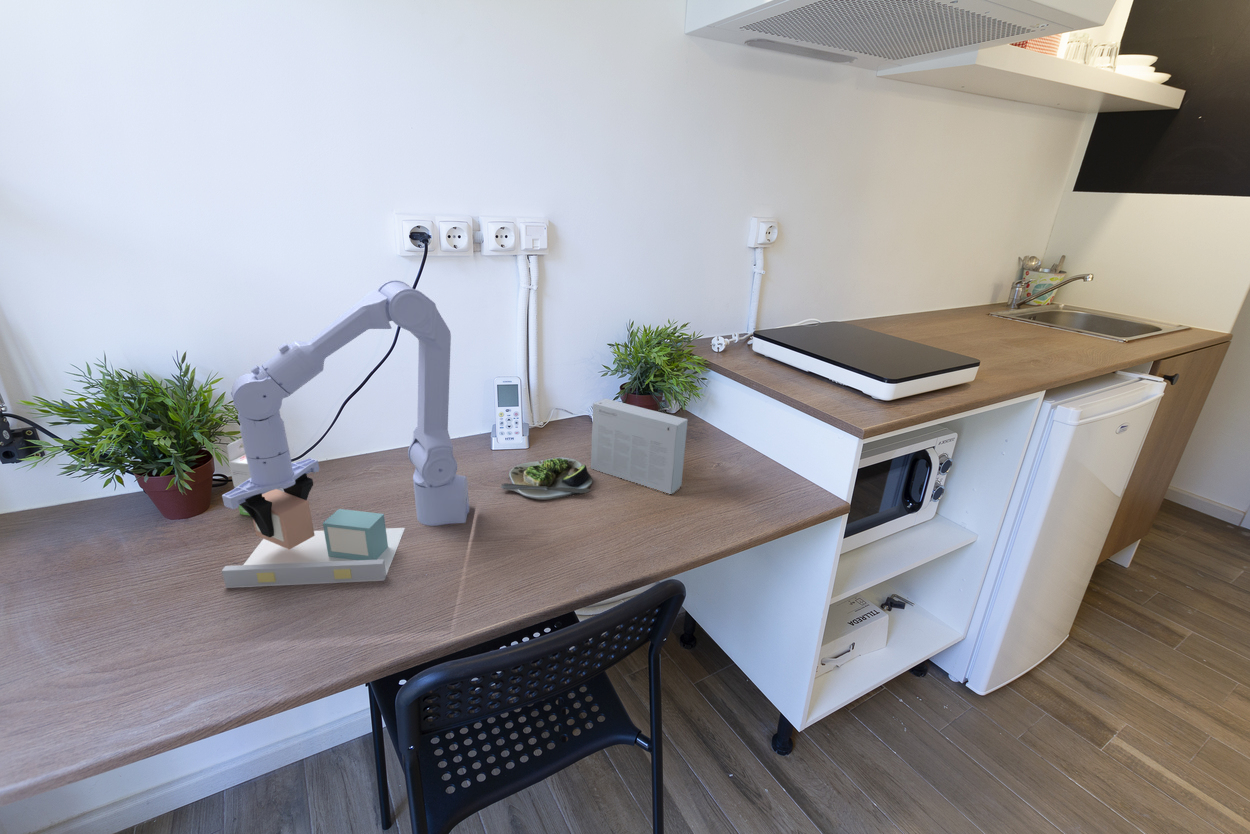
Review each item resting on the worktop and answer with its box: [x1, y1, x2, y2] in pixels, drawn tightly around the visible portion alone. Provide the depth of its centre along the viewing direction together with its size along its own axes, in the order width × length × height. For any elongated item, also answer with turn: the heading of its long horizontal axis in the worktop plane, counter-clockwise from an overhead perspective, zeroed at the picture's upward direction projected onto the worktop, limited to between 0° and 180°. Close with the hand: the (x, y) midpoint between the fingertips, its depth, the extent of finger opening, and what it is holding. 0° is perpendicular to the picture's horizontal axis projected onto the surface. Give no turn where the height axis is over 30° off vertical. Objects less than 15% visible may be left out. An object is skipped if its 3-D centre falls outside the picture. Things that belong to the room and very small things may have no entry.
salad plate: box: [500, 457, 594, 501], centre depth 124 cm, size 19×18×5 cm
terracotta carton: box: [252, 489, 315, 550], centre depth 94 cm, size 5×8×6 cm, turn 64°
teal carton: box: [322, 508, 388, 560], centre depth 97 cm, size 5×8×6 cm, turn 82°
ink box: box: [226, 437, 284, 517], centre depth 108 cm, size 9×5×15 cm, turn 168°
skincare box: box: [590, 398, 689, 495], centre depth 126 cm, size 21×5×16 cm, turn 58°
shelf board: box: [221, 527, 406, 589], centre depth 96 cm, size 23×15×4 cm, turn 98°
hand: (283, 526), depth 94 cm, fingers closed on terracotta carton, 5 cm apart
